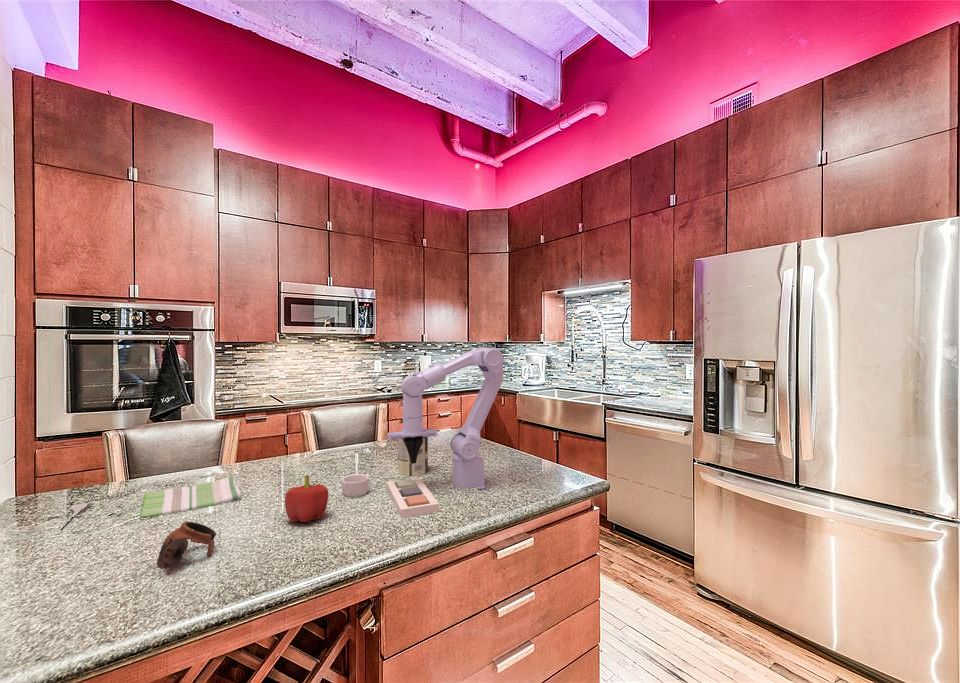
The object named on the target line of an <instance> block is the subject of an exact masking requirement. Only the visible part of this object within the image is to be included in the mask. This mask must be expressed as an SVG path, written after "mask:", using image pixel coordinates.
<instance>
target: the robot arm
mask: <svg viewBox="0 0 960 683" xmlns="http://www.w3.org/2000/svg"><path fill="white" fill-rule="evenodd" d="M504 363H505V359H504V356H503V354H502V351H501V350H500V349H498V348H496V347H485V346H480V347H478V348H475V349H472V350H470V351H467V352H466V353H464V354H461V355H459V356H458V357H456V358H454V359H452V360H450V361H449V362H447V363H444V364H443V365H442V364H440V363H439V364H438V363H435V364H434V363H430V364H429V365H428V367H427V368H424V369H423V370H420V371H418V370H417V371H414V373H413V374H414V375H407V376H405V377H404V378H403V379H402V381H401V384H400V386H399V387H400V389H401V391H402V392H403V393H402V399H403V400H402V430H399V431H393V432H387V435H386V436H387V441H388V442H391V441H398V440H399V439H403V441H404V443H405V446H406V448H407V451H408V454H409V458H410V463H411V464H414V463H416V460H417V456H418V452H419V450H420V447H421V445H422V443H423V439H422V437H428V438H430V437H434V438H435V437H438V429H436V428H426V429H425V428H423V424H424V423H423V393H424V392H425V391H427V390H428V389H431V388H433V387H435V386H437V385H439V384H441V383H443V382H445V381H446V379H447V377H448V375H451V374H453V373H455V372H457V371H460V370H462V369H463V368H467V367H468V366H477V367H478V368H479V369H480V370H481V373H482V375H483V377H484V381H483V383H482V386H481V388H480V389H479V392H478V393H477V396H476V398H475V399H474V403H473V405H472V406H471V409H470V412H469V414H468V416H467V418H466V420H465V422H464V424H463V425H462V426H461V427H460V428H458V431H457V432H456V434H455V435H453V436H452V438H451V439H450V442H449V446H450V449H451V451H452V452H453V454H452V486H453V487H455V488H459V489H468V488H469V489H470V488H473V487H474V488H475V489H476V490H482V489H483V490H484V489H486V486H485V463H484V460H483V458H482V457H481V456H478V454H479V449H480V443H481V440H482V439H481V438H482V437H481V430H482V429H483V426H484V423H485V422H486V419H487V418H488V415H489V412H490V410H491V408H492V406H493V404H494V402H495V399H496V397H497V395H498V392H499V390H500V387H501V386H502V384H503V382H504Z"/></svg>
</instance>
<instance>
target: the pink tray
mask: <svg viewBox="0 0 960 683" xmlns="http://www.w3.org/2000/svg"><path fill="white" fill-rule="evenodd" d="M411 479H412V480H413V481H414V482H415V484H416V486H417V487H418V488H419V489H420V491H421V495H424V496H425V498H426V499H427V501H428V504H424V505H418V506H411V507H408V506H407V505H406V497H402V496H401V489H402V488H400V489H397V487H396V481H399V480H400V479H399V480H389V481H386V483H385V484H386V486H385V487H386V490H387V493H388V496H389V497H390V498H391V501H392V503H393V504H394V507H395V509H396V510H397V513H398V515H399V517H400V518H401V519H404V518H408V517H414V516H420V515H426V514H433V513H437V512H440V503H439V502H438V499H436V498H435V496H434V495H433V494H432V493H431V491H430V490H429V489H428V487H427V486H426V484H424V482H423V480H422V479H421V478H420V477H415V478H414V477H412V478H411ZM404 480H406V478H405V479H404ZM416 486H414V487H416ZM407 488H409V487H407ZM415 496H418V495H415ZM409 497H412V496H409Z"/></svg>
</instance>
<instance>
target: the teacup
mask: <svg viewBox="0 0 960 683" xmlns="http://www.w3.org/2000/svg"><path fill="white" fill-rule="evenodd" d="M369 485H370V477H369V475H367V474H363V473H353V474H348V475H346V476H343V477H342V478H341V490H342V495H343V496H344V497H347V498H358V497H362V496H365V495H366V494H367V492H368V491H369Z"/></svg>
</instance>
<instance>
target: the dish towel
mask: <svg viewBox="0 0 960 683" xmlns="http://www.w3.org/2000/svg"><path fill="white" fill-rule="evenodd" d="M235 478H236V477H235V475H231V476H229V477H226V478H225V477H224V478H223V479H222V478H221V479H218V480H214V481H209V482H203V483H200V484H194V485H192V486H181V487H173V488H169V489H163V490H156V491H152V492H149V493H145V494H144V495H143V500H142V501H143V502H142V506H141V513H140V516H139V520H140V519H141V518H147V517H153V518H155V517H154V516H158V517H160V516H159V515H163V516H166V515H165V514H169V515H172V514H171V513H174V514H178V513H177V512H180V513H183V512H182V511H185V512H188V511H187V510H189V511H192V509H195V510H200V509H204V507H205V508H210V507H209V506H211V507H215V506H218V505H219V504H220V505H223V503H224V504H228V502H229V503H231V502H232V501H233V502H236V501H237V502H238V501H240V500H242V498H243V497H242V492H241V490H240V488H239V486H238V484H237V481H236V479H235ZM199 508H200V509H199Z"/></svg>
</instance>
